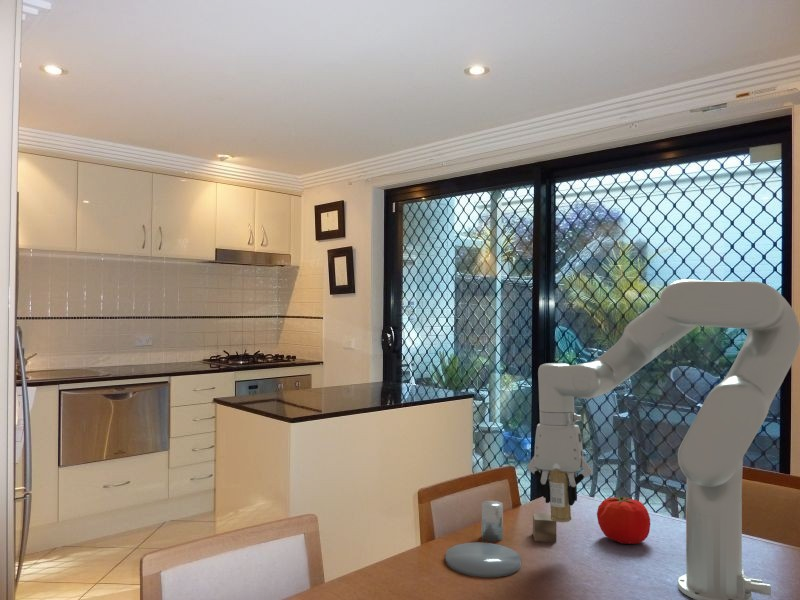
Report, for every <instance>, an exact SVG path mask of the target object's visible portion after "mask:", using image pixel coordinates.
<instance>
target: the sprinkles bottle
mask: <svg viewBox="0 0 800 600" xmlns="http://www.w3.org/2000/svg"><path fill="white" fill-rule="evenodd" d="M553 468H554V470H553V471H549V487H550V502H549V504H550V505H549V506H550V514H551V520H553V521H555V522H556V523H568V522H570V521H571V520H572V515H571V514H572V512H571V511H572V510H571V505H569V501H568V487H569V486H570V485H569V484H570V481H569V478H568V474H567V473H566V472H562V471H560V470H558V469H560V466H559V465H558V464H556V463H555V464H554V465H553Z"/></svg>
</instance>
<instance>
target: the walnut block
mask: <svg viewBox="0 0 800 600" xmlns="http://www.w3.org/2000/svg"><path fill="white" fill-rule="evenodd" d="M532 536H533V540H534V541H535V542H546V541H552V542H551V543H557V522H555V521H553V520H551V513H535V512H532Z"/></svg>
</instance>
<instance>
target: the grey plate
mask: <svg viewBox="0 0 800 600" xmlns="http://www.w3.org/2000/svg"><path fill="white" fill-rule="evenodd" d="M445 563H446V565H447V567H449V568H450V569H452V570H453V571H455V572H456V573H457V572H458V573H460V574H462V575H467V576H471V577H477V578H501V576H502V577H506V576H510V575H513V574H514V573H517V572H518V571H519V570H520V569H521V567H522V557H521V555H520V554H519V553H518V552H517V551H516V550H514V549H512V548H509V547H508V546H505V545H502V544H501V545H500V544H497V543H492V542H483V541H482V542H481V541H480V542H478V541H477V542H476V541H475V542H464V543H460V544H455V545H453V546H451V547H449V548H448V549H447V550H446V552H445ZM516 571H517V572H516Z"/></svg>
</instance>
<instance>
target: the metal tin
mask: <svg viewBox="0 0 800 600" xmlns="http://www.w3.org/2000/svg"><path fill="white" fill-rule="evenodd" d="M481 539H483V540H484V539H485V540H484V541H489V542H500V541H502V540H503V539H504V503H503V502H501V501H498V500H484V501H482V502H481Z"/></svg>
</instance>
